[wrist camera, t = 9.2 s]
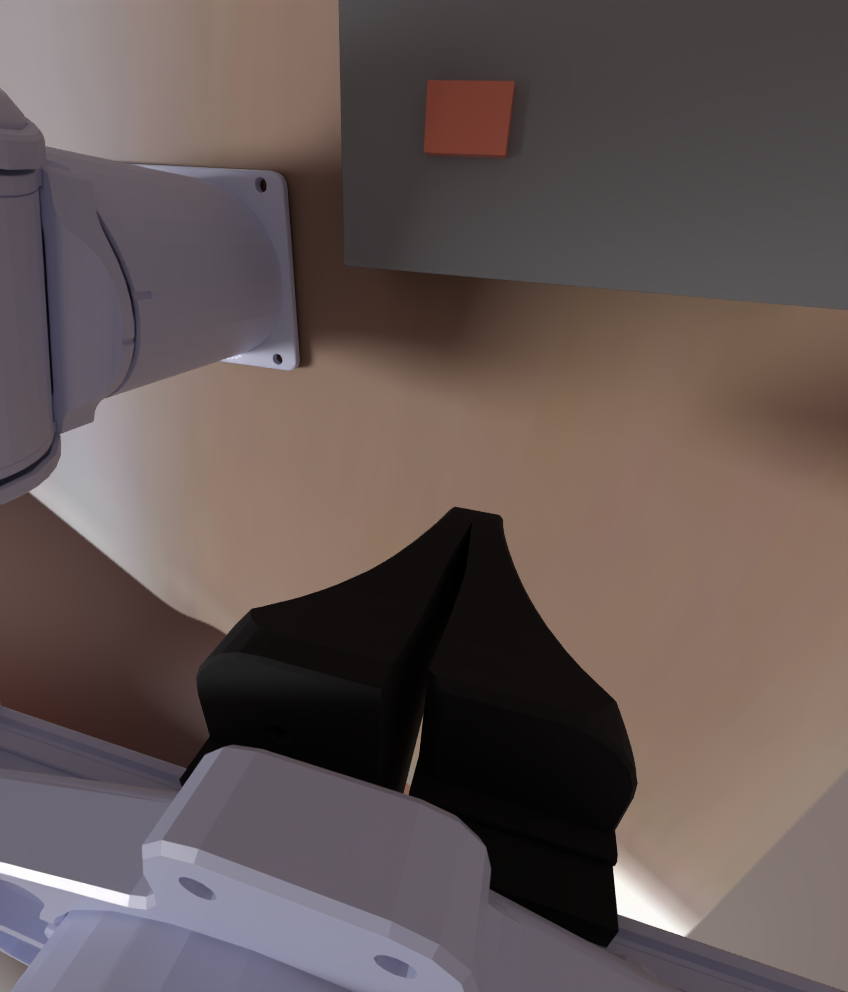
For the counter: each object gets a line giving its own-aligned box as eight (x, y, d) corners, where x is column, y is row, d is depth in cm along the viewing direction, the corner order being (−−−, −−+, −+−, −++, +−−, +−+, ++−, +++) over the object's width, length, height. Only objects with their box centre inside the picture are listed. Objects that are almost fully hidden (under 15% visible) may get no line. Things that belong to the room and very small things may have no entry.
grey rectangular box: (380, 263, 19) (338, 266, 15) (385, -5, 15) (328, -94, 11) (828, 301, 16) (916, 316, 12) (981, -21, 12) (1185, -149, 8)
